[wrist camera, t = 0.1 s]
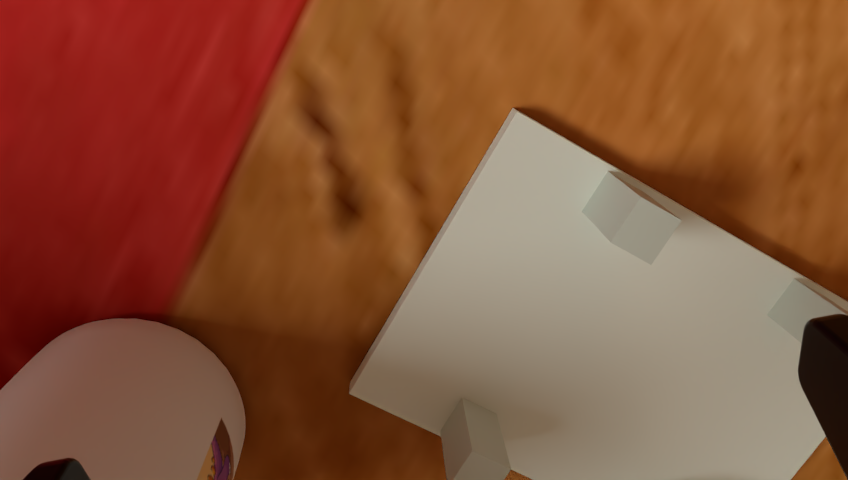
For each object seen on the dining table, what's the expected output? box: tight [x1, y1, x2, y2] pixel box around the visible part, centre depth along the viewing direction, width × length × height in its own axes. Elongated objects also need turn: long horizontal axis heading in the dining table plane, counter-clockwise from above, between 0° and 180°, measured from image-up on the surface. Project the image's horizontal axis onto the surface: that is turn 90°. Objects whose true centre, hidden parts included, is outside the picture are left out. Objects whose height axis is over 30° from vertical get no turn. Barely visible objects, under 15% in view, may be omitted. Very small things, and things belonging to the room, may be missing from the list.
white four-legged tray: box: [349, 108, 848, 480], centre depth 24 cm, size 16×11×4 cm
